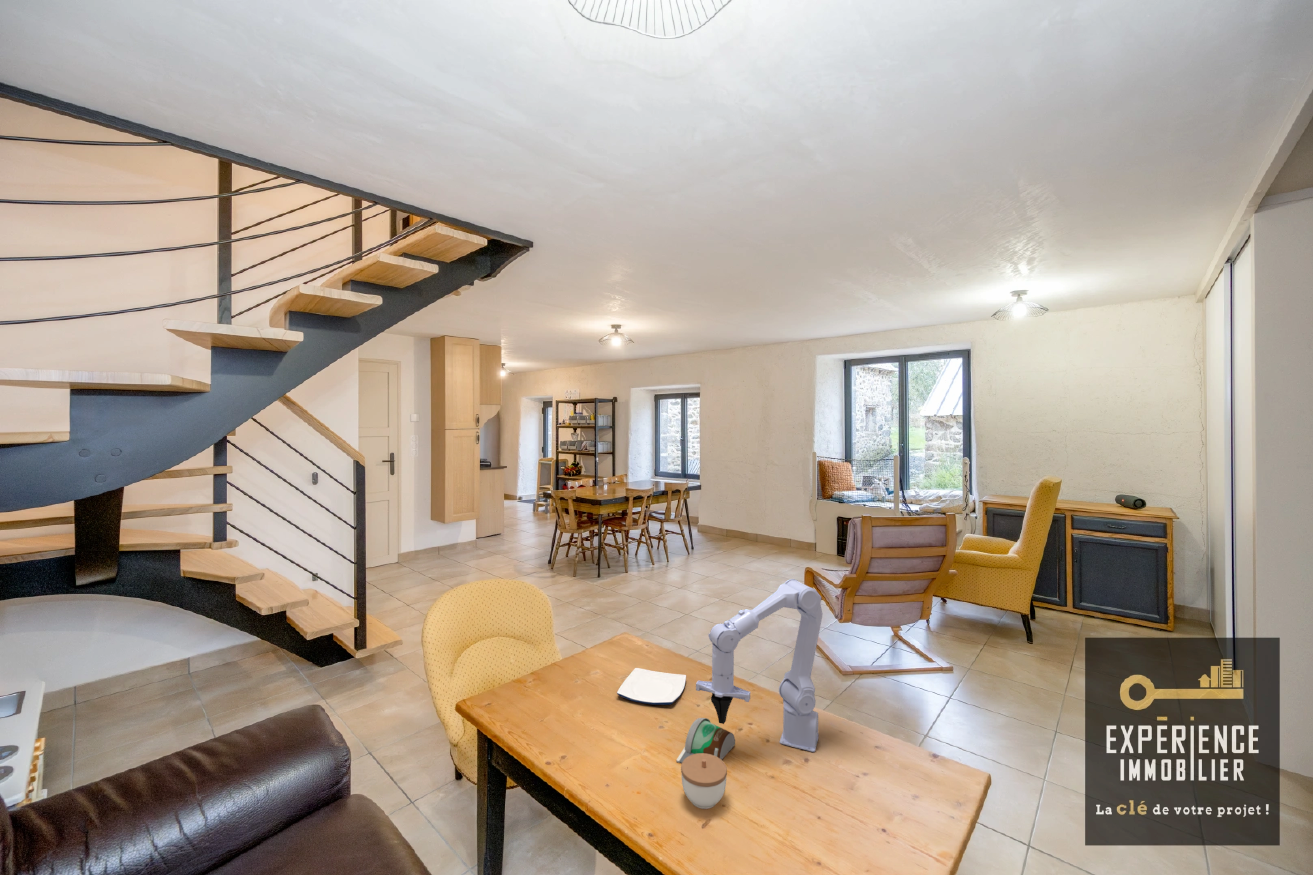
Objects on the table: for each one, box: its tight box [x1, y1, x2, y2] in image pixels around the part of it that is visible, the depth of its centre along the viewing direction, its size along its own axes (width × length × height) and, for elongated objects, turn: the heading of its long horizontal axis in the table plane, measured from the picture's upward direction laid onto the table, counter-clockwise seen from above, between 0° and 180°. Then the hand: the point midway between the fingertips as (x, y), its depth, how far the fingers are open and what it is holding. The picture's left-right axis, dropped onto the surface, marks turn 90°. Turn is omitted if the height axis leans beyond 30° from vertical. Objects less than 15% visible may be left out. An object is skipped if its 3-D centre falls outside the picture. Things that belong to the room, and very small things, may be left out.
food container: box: [684, 717, 736, 761], centre depth 141 cm, size 12×6×10 cm
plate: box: [616, 667, 687, 706], centre depth 172 cm, size 20×20×3 cm
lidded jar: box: [680, 753, 728, 810], centre depth 122 cm, size 11×11×9 cm
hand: (722, 721), depth 138 cm, fingers closed
